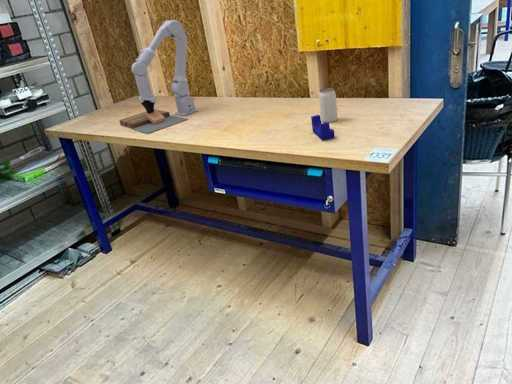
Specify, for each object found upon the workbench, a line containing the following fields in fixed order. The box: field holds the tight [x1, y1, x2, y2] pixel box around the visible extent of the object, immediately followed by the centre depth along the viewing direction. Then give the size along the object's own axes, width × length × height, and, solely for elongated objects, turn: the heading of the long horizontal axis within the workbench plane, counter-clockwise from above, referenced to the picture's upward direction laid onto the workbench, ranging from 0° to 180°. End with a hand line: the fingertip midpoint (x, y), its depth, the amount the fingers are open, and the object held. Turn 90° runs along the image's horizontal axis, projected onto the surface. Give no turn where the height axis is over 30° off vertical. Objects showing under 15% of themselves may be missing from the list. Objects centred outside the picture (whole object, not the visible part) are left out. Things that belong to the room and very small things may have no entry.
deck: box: [119, 108, 171, 130], centre depth 214 cm, size 16×20×2 cm
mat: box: [132, 115, 189, 135], centre depth 203 cm, size 16×22×1 cm
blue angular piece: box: [310, 114, 336, 142], centre depth 152 cm, size 12×4×6 cm, turn 9°
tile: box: [146, 111, 165, 125], centre depth 206 cm, size 7×6×2 cm
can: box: [318, 87, 338, 124], centre depth 164 cm, size 6×6×12 cm
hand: (151, 115), depth 209 cm, fingers closed
